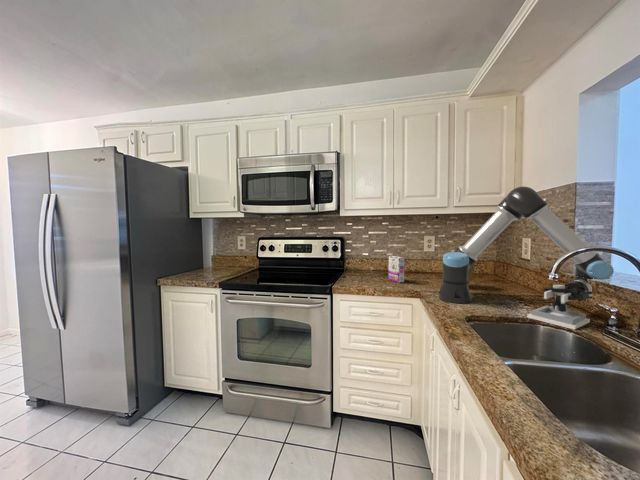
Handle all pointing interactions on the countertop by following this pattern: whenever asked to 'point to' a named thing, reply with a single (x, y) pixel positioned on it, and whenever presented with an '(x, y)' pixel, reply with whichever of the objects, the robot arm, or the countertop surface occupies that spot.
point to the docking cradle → (559, 317)
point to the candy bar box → (396, 269)
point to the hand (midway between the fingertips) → (553, 297)
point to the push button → (559, 297)
